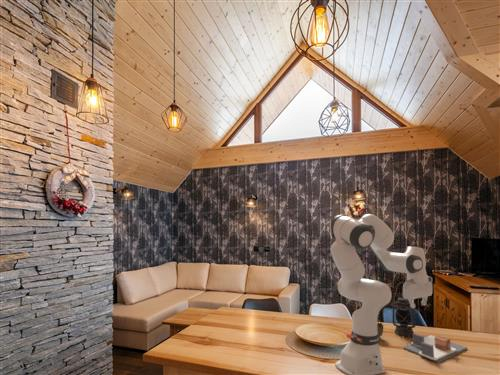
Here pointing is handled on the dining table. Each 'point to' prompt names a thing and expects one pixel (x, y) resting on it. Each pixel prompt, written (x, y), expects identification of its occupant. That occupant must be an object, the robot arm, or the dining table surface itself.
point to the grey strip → (422, 340)
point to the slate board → (459, 349)
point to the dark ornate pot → (380, 329)
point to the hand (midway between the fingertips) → (418, 306)
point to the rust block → (442, 343)
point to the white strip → (434, 351)
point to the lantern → (403, 317)
